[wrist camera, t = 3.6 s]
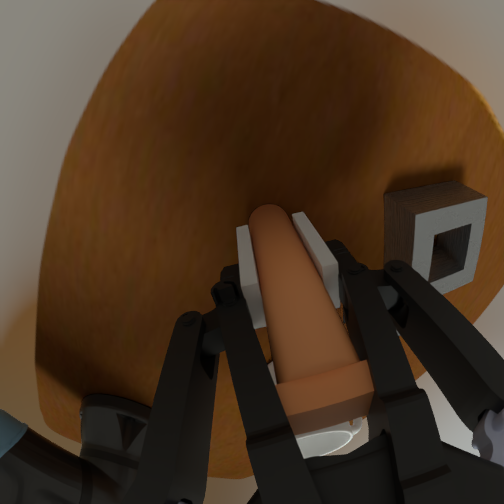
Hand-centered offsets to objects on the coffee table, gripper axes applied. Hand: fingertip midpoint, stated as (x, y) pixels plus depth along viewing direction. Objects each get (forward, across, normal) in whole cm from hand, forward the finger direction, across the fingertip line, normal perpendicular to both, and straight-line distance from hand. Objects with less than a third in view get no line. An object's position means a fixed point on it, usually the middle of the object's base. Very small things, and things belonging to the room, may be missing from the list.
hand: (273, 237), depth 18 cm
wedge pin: (+3, 0, 0) cm, 3 cm away
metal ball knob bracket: (+3, +14, -8) cm, 16 cm away
